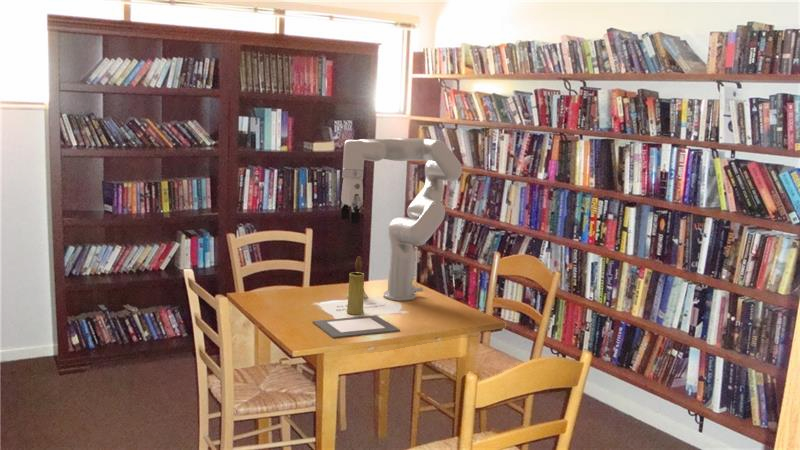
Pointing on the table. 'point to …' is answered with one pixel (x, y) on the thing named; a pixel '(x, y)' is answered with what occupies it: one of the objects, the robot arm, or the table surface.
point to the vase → (355, 293)
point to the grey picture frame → (355, 326)
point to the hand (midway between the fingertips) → (349, 221)
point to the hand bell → (358, 269)
